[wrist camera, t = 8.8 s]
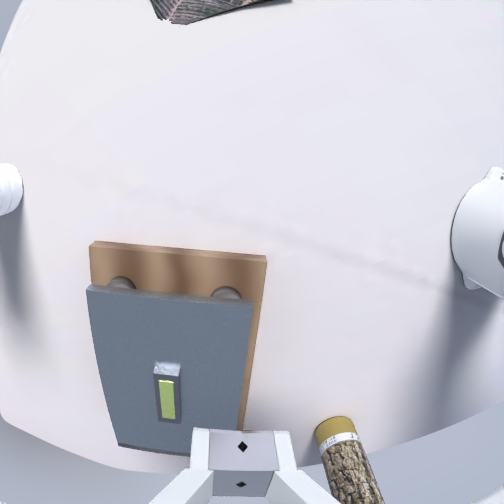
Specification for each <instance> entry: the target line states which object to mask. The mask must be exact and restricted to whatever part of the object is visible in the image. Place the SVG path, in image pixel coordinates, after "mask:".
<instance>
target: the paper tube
mask: <svg viewBox="0 0 504 504" xmlns="http://www.w3.org/2000/svg"><path fill="white" fill-rule="evenodd" d="M315 436H316V439H317V443H318V447H319V451H320V454H321V458H322V462H323V465H324V469H325V472H326V476H327V480H328V483H329V487H330V490H331V494H332V497H334V498H335V499H336V500H337V501H339V502H340V503H341V504H385V503H384V500H383V497H382V495H381V492H380V490H379V487H378V484H377V482H376V479H375V477H374V474H373V472H372V469H371V466H370V464H369V462H368V459H367V456H366V454H365V451H364V449H363V446H362V444H361V441H360V439H359V436H358V434H357V432H356V429H355V427H354V424H353V422H352V420H351V419H349V418H347V417H343V416H339V417H333V418H330V419H328V420H326V421H324V422H323V423H321V424H320V425H319V426H318V428H317V430H316V432H315Z"/></svg>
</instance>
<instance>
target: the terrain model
mask: <svg viewBox="0 0 504 504" xmlns="http://www.w3.org/2000/svg"><path fill="white" fill-rule="evenodd" d="M267 1H272V0H151V2H152V4H153V7H154V10H155V12H156V15H157V18H158V19H160V20H163V19H165V20H167V19H168V18H169V21H173V22H171V23H172V24H181V25H183V24H184V25H187V24H190V23H193V22H196V21H199V20H202V19H204V18H208V17H211V16H214V15H217V14H221V13H224V12H227V11H231V10H235V9H238V8H242V7H246V6H250V5H254V4H259V3H263V2H267Z"/></svg>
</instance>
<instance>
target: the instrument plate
mask: <svg viewBox="0 0 504 504" xmlns="http://www.w3.org/2000/svg"><path fill="white" fill-rule="evenodd" d="M86 295H87V303H88V311H89V318H90V325H91V331H92V337H93V343H94V349H95V354H96V359H97V364H98V369H99V374H100V378H101V383H102V387H103V391H104V395H105V399H106V403H107V407H108V411H109V414H110V418H111V422H112V425H113V428H114V432H115V435H116V438H117V442H118V446H121V447H126V448H131V449H137V450H142V451H148V452H155V453H162V454H169V455H178V456H187V457H190V456H191V444H192V433H193V428H194V427H196V428H208V429H219V430H232V431H236V429H237V422H238V415H239V408H240V400H241V393H242V386H243V378H244V371H245V364H246V356H247V349H248V341H249V334H250V326H251V318H252V311H253V303H252V300H247V299H234V298H221V297H209V296H198V295H187V294H177V293H167V292H157V291H148V290H139V289H130V288H121V287H113V286H105V285H97V284H91V285H90V286H89V287H88V288H87V289H86ZM209 438H210V435H209Z"/></svg>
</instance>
